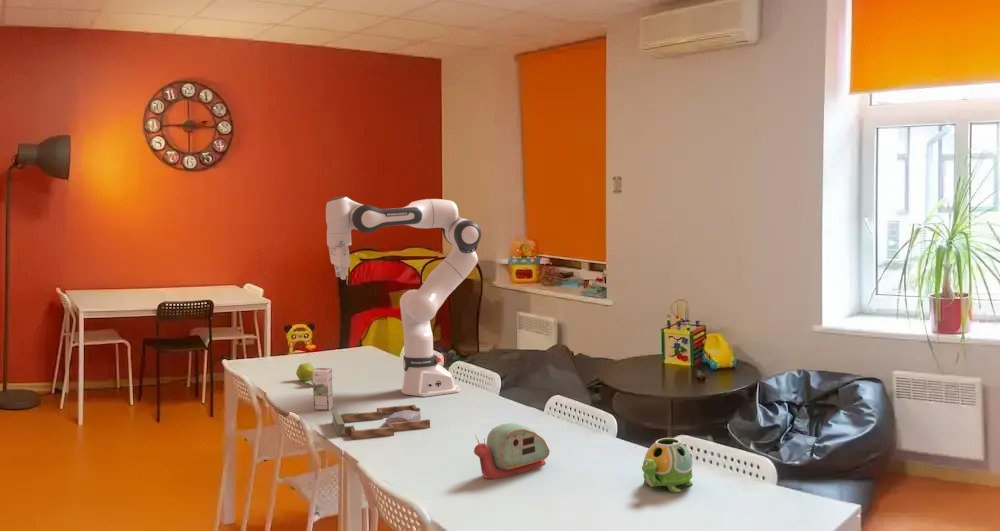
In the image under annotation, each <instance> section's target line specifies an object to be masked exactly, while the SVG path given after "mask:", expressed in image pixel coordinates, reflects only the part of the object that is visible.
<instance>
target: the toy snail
mask: <svg viewBox="0 0 1000 531" xmlns="http://www.w3.org/2000/svg"><path fill="white" fill-rule="evenodd" d="M475 438H476V441H477V445H476V446H475V447H474V449H473V453H474V455H475V456H477V457H478V458H479V463H480V469H481V473H482V476H483V477H484V478H485V479H487V480H498V479H502V478H503V479H504V478H507V477H512V476H515V475H519V474H523V473H525V472H529V471H533V470H535V469H538V468H541V467H543V466H545V465H546V464H547V462H546V459H547V458H548V457H549V455H550V452H551V451H550V448H549V447H548V445H547V443H546V440H545V439H544V438H543V437H542V436H541V435H540V434H538V433H537V432H536V431H534V430H533V429H531V428H529V427H527V426H524V425H521V424H519V423H515V422H514V423H513V422H511V423H510V422H507V423H502V424H501V423H500V424H499V425H497V426H495V427H493V428H491V429H490V431H489V433H488V434H487V437H486V439H485V438H483V440H484V441H483V442H482V443H480V441H479V439H478V437H477V435H476V434H475ZM485 441H486V443H485Z"/></svg>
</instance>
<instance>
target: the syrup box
mask: <svg viewBox="0 0 1000 531" xmlns="http://www.w3.org/2000/svg"><path fill="white" fill-rule="evenodd" d="M312 395H313V410H314V411H330V410H331V409H332V408H333V407H334V399H333V397H334V395H333V369H332V368H331V367H316V368H314V370H313V383H312Z"/></svg>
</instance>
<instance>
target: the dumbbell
mask: <svg viewBox="0 0 1000 531" xmlns="http://www.w3.org/2000/svg"><path fill="white" fill-rule="evenodd" d="M314 369H315V368H314V366H313V365H312V364H311V363H309V362H304V363H301V364H299V365H298V367H297V369H296V372H295V373H296V375H295V376H297V378H298V380H299V381H300V382H307V381H310V382H311V383H312V384H313V370H314Z"/></svg>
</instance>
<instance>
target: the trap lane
mask: <svg viewBox="0 0 1000 531" xmlns="http://www.w3.org/2000/svg"><path fill="white" fill-rule="evenodd" d="M404 410H411V411H417V412H418V411H420V412H421V408H420V407H417V406H416V404H407V405H406V404H405V405H397V406H394V405H393V406H384V407H382V406H381V407H376V411H369V412H367V411H365V412H358V411H357V412H356V411H354V412H344V413H343V412H342V413H340V412H339V410H332V412H331V414H332V417H331V418H332V425H333V427H334V429H335V432H336V433H337V436H338V437H348V436H350V438H351V439H352V440H360V439H370V438H380V437H381V438H382V437H390V436H391V437H392V436H395V432H401V431H409V430H410V431H411V430H420V429H431V420H430V419H420V420H417V421H407V422H396V423H387V425H386V427H377V428H367V429H355V426H354V424H353V425H345V423H354V422H365V421H375V420H377V421H378V420H383V419H385V418H386V419H388V418H389V417H390V415H392V414H394V413H395V412H399V411H404Z"/></svg>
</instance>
